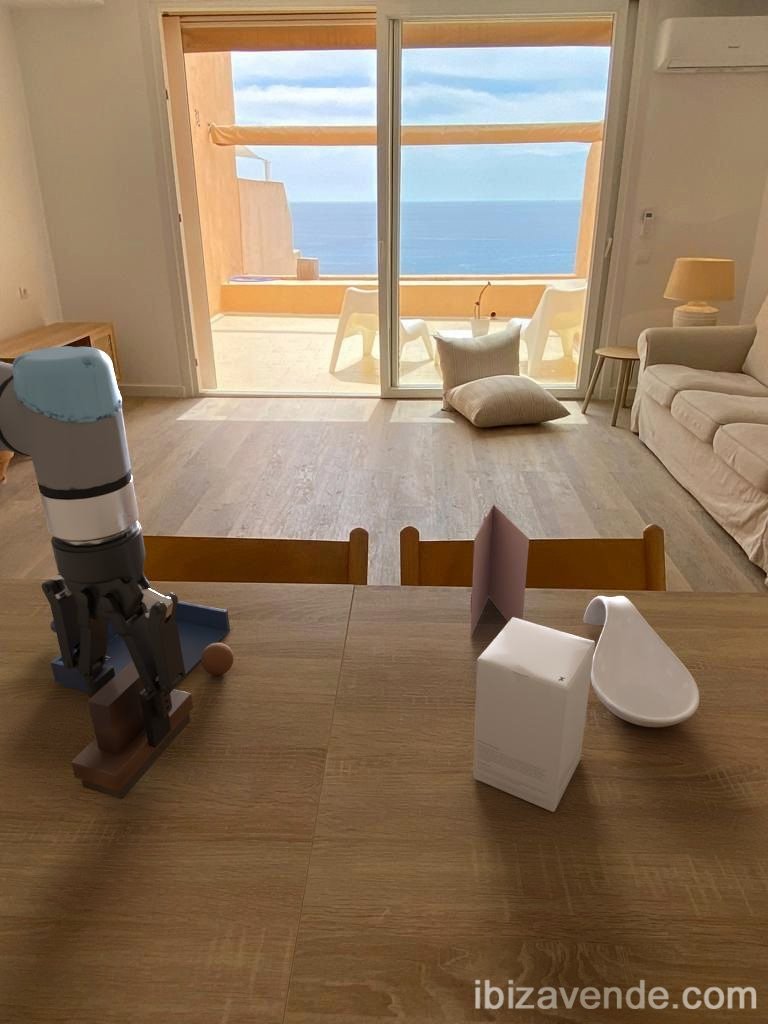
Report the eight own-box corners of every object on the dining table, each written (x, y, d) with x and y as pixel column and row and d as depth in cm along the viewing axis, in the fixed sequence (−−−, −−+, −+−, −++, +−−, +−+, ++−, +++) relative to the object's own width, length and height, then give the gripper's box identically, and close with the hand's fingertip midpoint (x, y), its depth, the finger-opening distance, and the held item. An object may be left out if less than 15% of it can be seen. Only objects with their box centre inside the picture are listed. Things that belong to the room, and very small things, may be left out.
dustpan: (230, 630, 97) (227, 610, 95) (154, 708, 82) (150, 686, 80) (97, 603, 104) (93, 584, 102) (5, 671, 89) (-1, 650, 87)
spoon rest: (712, 744, 75) (724, 690, 72) (603, 745, 75) (611, 692, 72) (639, 622, 97) (646, 577, 94) (554, 623, 97) (559, 578, 94)
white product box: (583, 757, 74) (599, 639, 68) (554, 815, 67) (569, 690, 61) (504, 726, 78) (512, 613, 72) (469, 778, 71) (475, 658, 65)
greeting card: (482, 594, 104) (487, 503, 98) (532, 603, 102) (540, 510, 96) (464, 636, 95) (467, 537, 88) (518, 646, 92) (526, 545, 86)
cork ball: (196, 678, 87) (192, 651, 85) (214, 659, 90) (210, 634, 89) (224, 684, 86) (221, 657, 84) (241, 665, 89) (238, 639, 88)
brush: (77, 790, 68) (58, 712, 64) (155, 708, 78) (142, 638, 74) (122, 803, 66) (104, 725, 62) (195, 719, 77) (184, 647, 73)
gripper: (208, 524, 62) (232, 727, 72) (45, 498, 67) (88, 689, 77) (156, 562, 55) (191, 780, 65) (-19, 530, 61) (37, 735, 71)
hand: (135, 730), depth 71 cm, fingers closed on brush, 5 cm apart
